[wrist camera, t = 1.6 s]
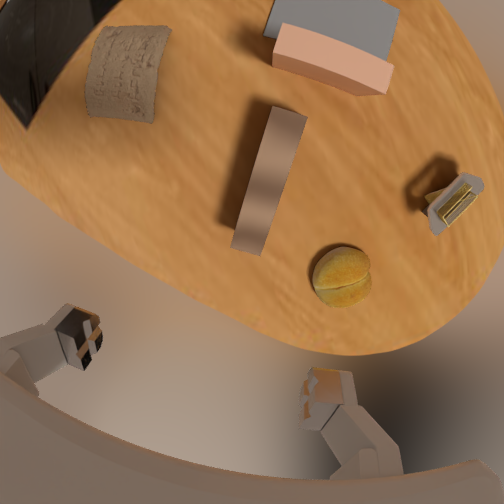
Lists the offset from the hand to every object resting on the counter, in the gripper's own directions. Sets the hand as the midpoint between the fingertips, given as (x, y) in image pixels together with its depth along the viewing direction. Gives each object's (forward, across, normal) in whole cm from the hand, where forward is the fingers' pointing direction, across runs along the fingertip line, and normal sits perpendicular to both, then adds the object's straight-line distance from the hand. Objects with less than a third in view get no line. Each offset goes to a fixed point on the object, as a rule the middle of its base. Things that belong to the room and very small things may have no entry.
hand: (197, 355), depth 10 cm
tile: (+26, -4, -16) cm, 31 cm away
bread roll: (+28, -13, +9) cm, 33 cm away
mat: (+26, -5, -23) cm, 35 cm away
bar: (+27, 0, -2) cm, 27 cm away
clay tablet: (+26, +19, -13) cm, 34 cm away
